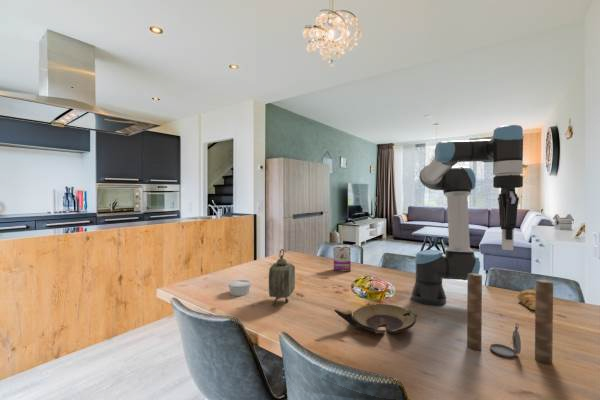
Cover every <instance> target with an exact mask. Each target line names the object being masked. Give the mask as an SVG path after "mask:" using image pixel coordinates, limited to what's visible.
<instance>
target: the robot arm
mask: <svg viewBox="0 0 600 400" xmlns="http://www.w3.org/2000/svg"><path fill="white" fill-rule="evenodd" d="M523 133H524V131H523V127H522V126H521V125H518V124H508V125H501V126H498V127H496V128H494V130H493V135H492V138H491V139H476V140H475V139H473V140H470V139H469V140H446V141H445V140H444V141H439V142H437V143H436V145H435V148H434V158H433V159H432V160H431V162H429V164H428V165H425V166H424V167H423V168H422V169H421V170H420V172H419V182H420V183H421V184H422V185H423V186H424V187H426V188H427V189H429V190H433V191H442V192H443V195H444V197H446V203H447V224H448V225H447V226H448V229H447V231H448V247H447V248H445V253H443V252H442V250H439V249H425V250H421V251H418V252H417V253H416V254H415V261H414V263H415V282H414V285H413V287H412V290H411V298H412V300H413V301H415V302H418V303H420V304H424V305H429V306H443V305H445V304H446V303H447V295H446V292H445V290H444V287H443V280H460V281H461V280H462V281H468V274H469V273H474V274H479V273H480V272H481V271H480V269H481V262H480V258H479V256H478V255H476V254H475V251H474V250H473V249H472V248H471V245H470V244H471V242H470V241H471V240H470V225H469V224H470V222H469V204H468V203H469V201H468V199H469V198H468V197H470V196H469V195H471V194H472V191H473V190H475V187H476V183H477V182H476V178H477V177H476V174H475V172H474V170H473V169H472V168H471V167H470V166H468V165H467V166H462V165H456V164H458V163H465V162H470V163H471V162H482V163H492V174H493V176H494V177H493V178H492V179H493V180H492V182H493V183H492V187H493V188H495V189H500V193H498V197H497V201H498V211H499V213H498V214H499V215H498V216H499V226H500V229H501V250H504V251H514V230H515V228H517V219H518V218H517V216H518V215H517V214H518V206H519V205H518V204H519V200H520V199H519V198H520V197H519V196H518V193H516V189H517V188H523V186H524V176H523V175H521V174H523V173H524V172H523V171H524V169H523V168H525V166H526V165H525V164H524V160H523V159H524V137H525V136H524V134H523ZM479 275H480V274H479Z"/></svg>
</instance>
